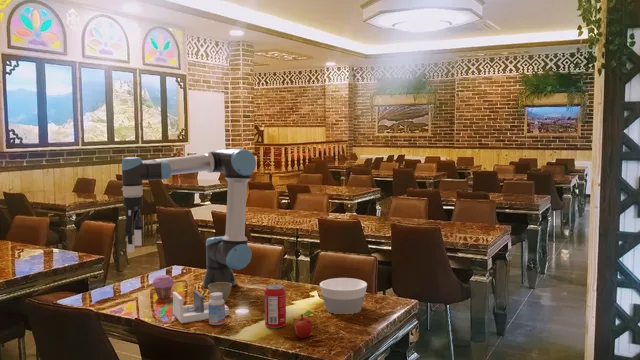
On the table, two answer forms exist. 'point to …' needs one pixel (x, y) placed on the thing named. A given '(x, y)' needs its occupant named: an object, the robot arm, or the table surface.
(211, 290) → the flower pot
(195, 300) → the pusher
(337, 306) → the bowl
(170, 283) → the cupcake
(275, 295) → the soda can
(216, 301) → the pill bottle
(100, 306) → the table surface
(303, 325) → the apple
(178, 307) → the white open tray
